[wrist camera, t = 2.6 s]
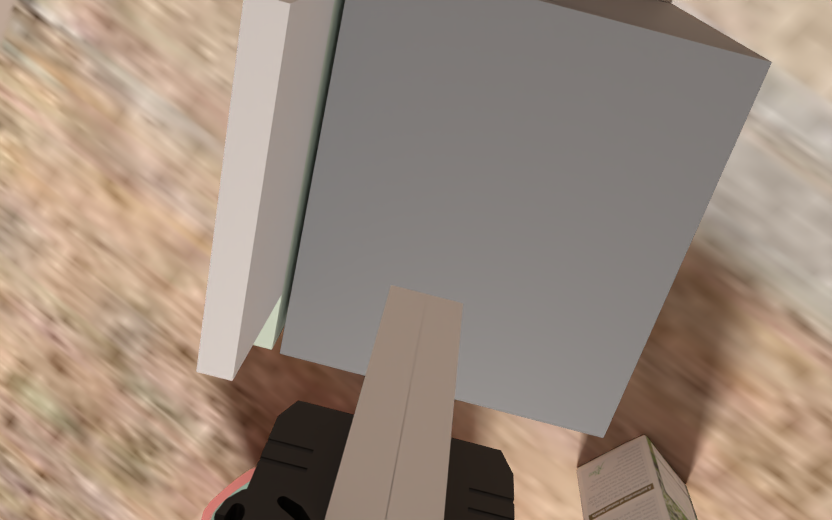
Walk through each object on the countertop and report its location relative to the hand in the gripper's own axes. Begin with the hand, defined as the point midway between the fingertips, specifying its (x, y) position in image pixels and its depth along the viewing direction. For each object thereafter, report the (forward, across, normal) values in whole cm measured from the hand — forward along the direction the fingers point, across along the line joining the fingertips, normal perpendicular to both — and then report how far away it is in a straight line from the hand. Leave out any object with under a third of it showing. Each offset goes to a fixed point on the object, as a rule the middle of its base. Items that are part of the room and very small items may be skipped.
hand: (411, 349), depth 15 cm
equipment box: (+29, +2, -2) cm, 29 cm away
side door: (+28, -6, -2) cm, 29 cm away
